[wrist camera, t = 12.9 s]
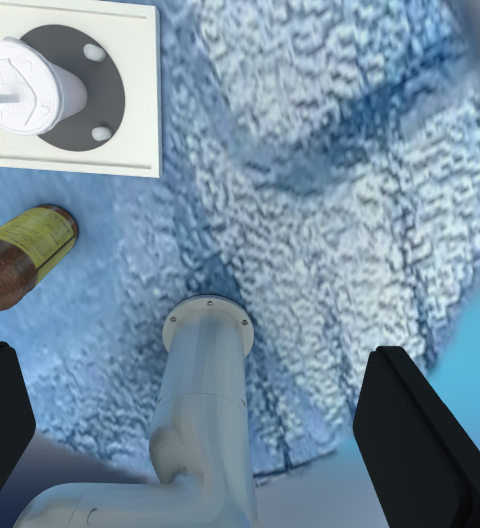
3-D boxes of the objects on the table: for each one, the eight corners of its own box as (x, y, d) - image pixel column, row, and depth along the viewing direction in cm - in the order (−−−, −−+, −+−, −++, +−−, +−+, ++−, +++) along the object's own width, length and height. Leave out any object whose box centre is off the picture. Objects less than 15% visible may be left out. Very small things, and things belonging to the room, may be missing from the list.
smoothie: (46, 130, 35) (-55, 147, 23) (24, 57, 32) (-104, 31, 20) (108, 125, 35) (42, 139, 23) (92, 52, 32) (6, 21, 20)
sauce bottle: (23, 199, 39) (-150, 280, 21) (79, 206, 40) (-44, 290, 22) (30, 251, 42) (-118, 362, 24) (82, 257, 43) (-25, 369, 25)
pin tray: (162, 173, 39) (156, 180, 35) (-4, 161, 38) (-25, 167, 34) (159, 12, 32) (152, 2, 29) (-41, -8, 31) (-71, -20, 28)
